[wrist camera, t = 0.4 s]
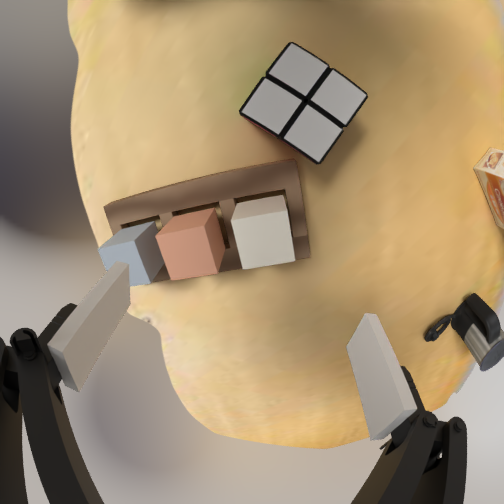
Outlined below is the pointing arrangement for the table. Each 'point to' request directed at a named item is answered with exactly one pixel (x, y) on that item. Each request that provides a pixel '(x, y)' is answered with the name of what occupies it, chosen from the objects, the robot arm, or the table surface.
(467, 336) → the milk frother
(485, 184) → the coffeecake box
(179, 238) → the terracotta block
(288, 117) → the puzzle cube
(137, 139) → the table surface
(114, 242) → the slate block
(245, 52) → the table surface
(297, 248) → the button board
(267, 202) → the cream block
